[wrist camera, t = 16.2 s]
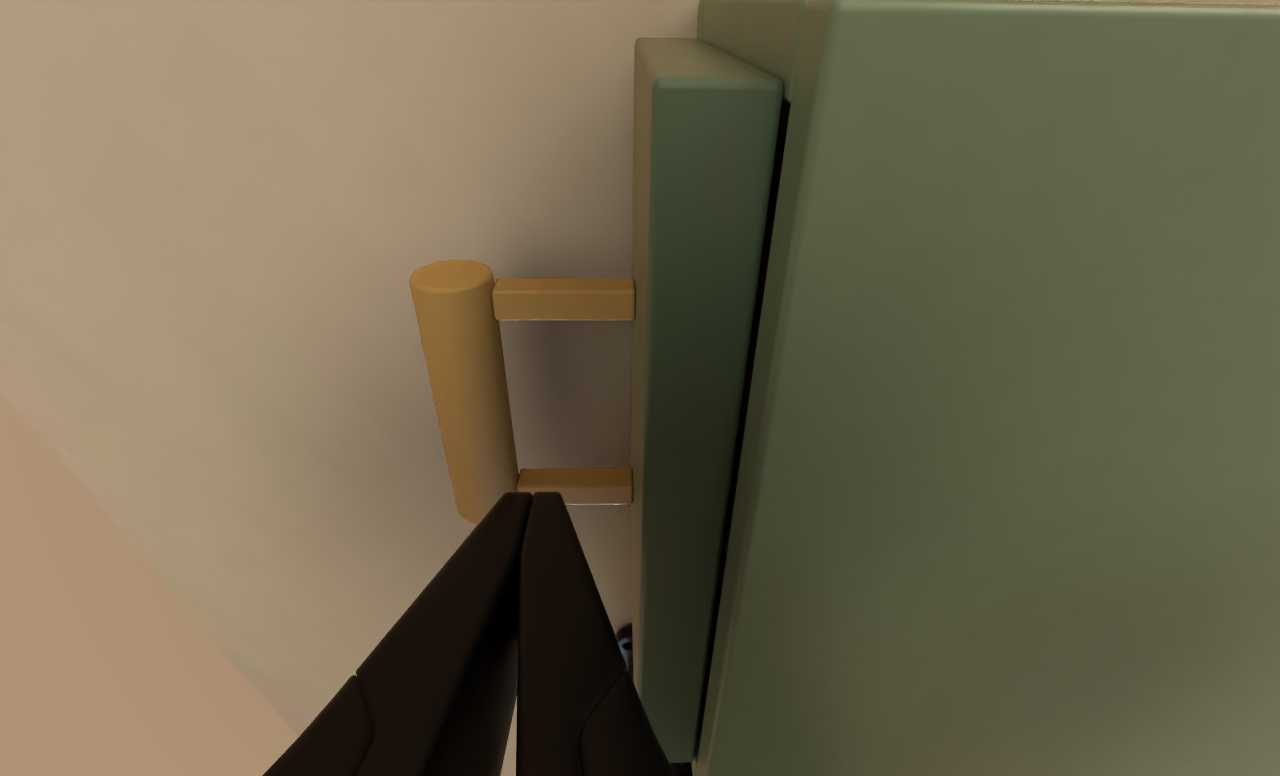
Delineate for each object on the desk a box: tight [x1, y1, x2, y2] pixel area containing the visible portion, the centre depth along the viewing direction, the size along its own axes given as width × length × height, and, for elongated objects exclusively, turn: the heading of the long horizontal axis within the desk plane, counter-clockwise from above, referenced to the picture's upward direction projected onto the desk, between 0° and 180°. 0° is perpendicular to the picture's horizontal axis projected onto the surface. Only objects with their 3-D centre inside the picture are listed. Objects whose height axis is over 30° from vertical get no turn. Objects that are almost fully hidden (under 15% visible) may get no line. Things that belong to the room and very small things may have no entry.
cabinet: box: [692, 0, 1280, 776], centre depth 11 cm, size 14×14×8 cm
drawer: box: [410, 38, 791, 763], centre depth 11 cm, size 16×12×6 cm
